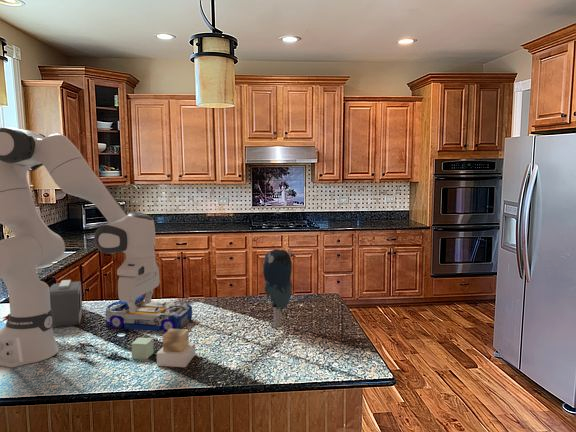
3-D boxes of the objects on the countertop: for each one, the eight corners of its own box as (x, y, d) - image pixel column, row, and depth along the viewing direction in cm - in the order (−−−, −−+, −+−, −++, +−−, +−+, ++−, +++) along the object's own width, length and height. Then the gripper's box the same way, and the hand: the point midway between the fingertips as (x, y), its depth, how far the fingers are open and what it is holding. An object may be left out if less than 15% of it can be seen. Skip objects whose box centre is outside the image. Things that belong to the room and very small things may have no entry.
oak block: (163, 351, 132) (162, 335, 132) (170, 343, 138) (170, 328, 137) (182, 352, 131) (181, 336, 131) (188, 344, 137) (188, 329, 137)
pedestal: (157, 365, 131) (156, 353, 131) (168, 353, 140) (168, 341, 140) (185, 367, 130) (185, 354, 130) (195, 354, 139) (194, 342, 139)
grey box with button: (79, 326, 163) (77, 286, 162) (45, 330, 159) (43, 289, 158) (82, 313, 178) (80, 276, 177) (51, 316, 174) (49, 279, 173)
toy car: (176, 334, 157) (176, 307, 156) (102, 328, 162) (101, 303, 161) (193, 319, 173) (193, 295, 172) (125, 315, 178) (125, 291, 177)
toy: (279, 319, 173) (279, 245, 170) (300, 325, 167) (300, 249, 164) (256, 328, 163) (256, 250, 160) (277, 335, 156) (277, 254, 153)
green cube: (131, 358, 136) (131, 343, 136) (139, 352, 141) (138, 337, 141) (147, 359, 136) (146, 344, 135) (153, 352, 141) (153, 338, 140)
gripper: (146, 257, 145) (146, 297, 147) (113, 271, 125) (114, 317, 127) (164, 258, 144) (164, 298, 146) (133, 272, 124) (134, 319, 126)
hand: (140, 307), depth 136 cm, fingers open, 8 cm apart
